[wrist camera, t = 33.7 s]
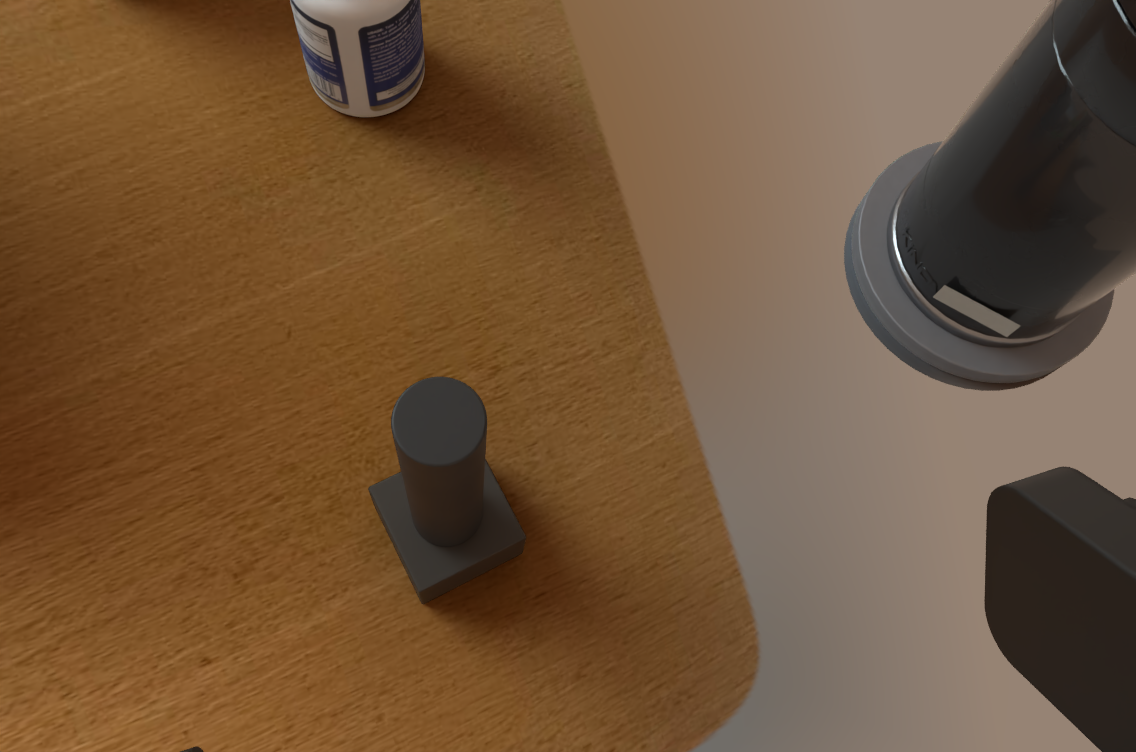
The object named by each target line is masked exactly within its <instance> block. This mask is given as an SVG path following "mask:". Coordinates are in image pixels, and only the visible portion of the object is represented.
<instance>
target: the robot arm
mask: <svg viewBox="0 0 1136 752" xmlns="http://www.w3.org/2000/svg"><path fill="white" fill-rule="evenodd" d="M887 248H888V254H889V258H890V262H891V265H892V268H893V271H894V273H895V276H896V278H897V280H898V282H899V284H900V285H901V287H902V289H903V290H904V292H905V293H906V295H907V296H908V297H909V299H910V300H911V301H912V302H913V303H914V305H915V306H916V307H917V308H918V309H919V310H920V311H921V312H922V313H923V314H924V315H925V316H926V317H928V318H929V319H930V320H931V321H933V322H934V323H935V324H937V325H938V326H940V327H941V328H943V329H944V330H946V331H948V332H950V333H951V334H953V335H955V336H958V337H960V338H962V339H965V340H967V341H970V342H973V343H977V344H981V345H985V346H991V347H1001V348H1015V347H1024V346H1028V345H1033V344H1036V343H1039V342H1042V341H1044V340H1046V339H1048V338H1050V337H1052V336H1054V335H1055V334H1057V333H1059V332H1060V331H1061V330H1063V329H1064V328H1065V327H1067V326H1068V325H1069V324H1071V323H1072V322H1073V321H1074V320H1075V319H1076V318H1077V317H1078V316H1079V315H1080V314H1081V313H1082V312H1083V311H1084V310H1086V309H1087V308H1088V307H1090V306H1091V305H1093V304H1094V303H1095V302H1097V301H1098V300H1099V299H1101V298H1102V297H1103V296H1105V295H1107V294H1108V293H1109V292H1111V291H1112V290H1113V289H1115V288H1116V287H1117V286H1119V285H1120V284H1121V283H1123V282H1124V281H1125V280H1127V279H1128V278H1130V277H1131V276H1132V275H1134V274H1135V273H1136V0H1050V1H1049V2H1048V4H1047V5H1046V6H1045V8H1044V9H1043V10H1042V12H1041V13H1040V14H1039V15H1038V17H1037V18H1036V19H1035V21H1034V22H1033V23H1032V25H1031V26H1030V28H1029V29H1028V30H1027V31H1026V33H1025V34H1024V35H1023V37H1022V38H1021V39H1020V41H1019V42H1018V43H1017V45H1016V46H1015V47H1014V49H1013V50H1012V51H1011V52H1010V54H1009V55H1008V56H1007V58H1006V59H1005V60H1004V62H1003V63H1002V64H1001V66H1000V67H999V68H998V70H997V71H996V72H995V74H994V75H993V76H992V78H991V79H990V80H989V81H988V83H987V84H986V86H985V87H984V88H983V89H982V91H981V92H980V93H979V95H978V96H977V97H976V99H975V100H974V101H973V103H972V104H971V105H970V106H969V108H968V109H967V110H966V112H965V113H964V114H963V116H962V117H961V118H960V120H959V121H958V122H957V124H956V125H955V126H954V128H953V129H952V130H951V132H950V133H949V134H948V136H947V137H946V138H945V139H944V141H943V142H942V143H941V145H940V146H939V147H938V148H937V150H936V151H935V152H934V154H933V155H932V156H931V158H930V159H929V160H928V162H927V163H926V164H925V166H924V167H923V168H922V170H921V171H920V172H919V173H918V174H916V175H915V176H914V177H913V178H912V179H911V181H910V182H909V183H908V184H907V186H906V187H905V188H904V190H903V191H902V192H901V194H900V195H899V196H898V198H897V200H896V202H895V203H894V205H893V208H892V210H891V213H890V217H889V220H888V227H887ZM985 612H986V617H987V621H988V624H989V628H990V630H991V633H992V635H993V637H994V639H995V641H996V643H997V645H998V647H999V649H1000V650H1001V651H1002V653H1003V655H1004V656H1005V657H1006V658H1007V660H1008V661H1009V662H1010V663H1011V664H1012V665H1013V667H1014V668H1016V669H1017V670H1018V671H1019V672H1020V673H1021V674H1022V675H1023V676H1024V677H1025V678H1026V679H1027V680H1028V681H1029V682H1030V683H1031V684H1032V685H1033V686H1034V687H1035V688H1036V689H1038V691H1039V692H1041V694H1043V695H1044V696H1045V697H1046V698H1047V699H1048V700H1049V701H1050V702H1051V703H1052V704H1053V705H1054V706H1055V707H1056V708H1057V709H1058V710H1059V711H1060V712H1061V713H1062V714H1063V715H1064V716H1065V717H1066V718H1067V719H1069V720H1070V721H1071V722H1072V723H1073V724H1074V725H1075V726H1076V727H1077V728H1078V729H1079V730H1080V731H1081V732H1082V733H1083V734H1084V735H1085V736H1086V737H1087V738H1088V739H1089V740H1090V741H1091V742H1092V743H1093V744H1094V745H1095V746H1097V747H1098V748H1099V749H1100V750H1101V751H1102V752H1136V499H1133V498H1127V499H1124V500H1123V499H1121V498H1120V497H1118V496H1116V495H1115V494H1113V493H1112V492H1110V491H1108V490H1107V489H1106V488H1104V487H1103V486H1101V485H1100V484H1098V483H1097V482H1095V481H1094V480H1092V479H1091V478H1089V477H1087V476H1086V475H1084V474H1083V473H1081V472H1080V471H1078V470H1076V469H1073V468H1070V467H1059V468H1055V469H1052V470H1049V471H1046V472H1043V473H1040V474H1037V475H1034V476H1031V477H1028V478H1025V479H1022V480H1019V481H1015V482H1012V483H1009V484H1006V485H1003V486H1000V487H998V488H996V489H995V490H994V491H993V492H992V493H991V495H990V497H989V500H988V504H987V530H986V570H985ZM181 752H203V750H202V749H201V748H199V747H193V748H190V749H187V750H184V751H181Z"/></svg>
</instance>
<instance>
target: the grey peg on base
mask: <svg viewBox="0 0 1136 752" xmlns="http://www.w3.org/2000/svg"><path fill="white" fill-rule="evenodd" d="M391 428H392V433H393V438H394V442H395V446H396V451H397V455H398V459H399V464H400V468H401V472H399V473H397V474H395V475H393V476H391V477H389V478H387V479H385V480H383V481H381V482H378V483H376V484H374V485H372V486H370V487H369V488H368V489H369V492H370V495H371V498H372V500H373V503H374V506H375V508H376V510H377V512H378V514H379V516H380V519H381V521H382V523H383V525H384V527H385V529H386V531H387V533H388V535H389V537H390V539H391V541H392V543H393V545H394V548H395V550H396V552H397V554H398V556H399V558H400V560H401V562H402V564H403V566H404V568H405V570H406V572H407V574H408V576H409V579H410V581H411V583H412V585H413V587H414V589H415V591H416V593H417V595H418V597H419V599H420V601H421V603H422V604H425V603H427V602H429V601H431V600H433V599H435V598H437V597H438V596H440V595H442V594H444V593H446V592H448V591H450V590H452V589H454V588H456V587H458V586H460V585H462V584H464V583H466V582H468V581H469V580H471V579H473V578H475V577H477V576H479V575H481V574H483V573H485V572H487V571H489V570H491V569H493V568H495V567H497V566H499V565H501V564H502V563H504V562H506V561H508V560H510V559H512V558H514V557H516V556H518V555H520V554H522V552H523V548H524V544H525V541H526V535H525V533H524V532H523V530H522V528H521V526H520V524H519V522H518V520H517V518H516V516H515V514H514V512H513V511H512V509H511V507H510V505H509V503H508V501H507V499H506V497H505V495H504V493H503V492H502V490H501V488H500V486H499V484H498V482H497V480H496V478H495V476H494V474H493V472H492V471H491V469H490V467H489V465H488V463H487V461H486V459H485V453H486V434H487V415H486V410H485V407H484V405H483V402H482V400H481V399H480V397H479V396H478V395H477V393H476V392H475V391H474V390H473V389H472V388H471V387H469V386H468V385H466V384H465V383H463V382H461V381H459V380H456V379H453V378H448V377H431V378H427V379H423V380H421V381H418V382H417V383H415V384H413V385H412V386H410V387H409V388H407V389H406V390H405V391H404V392H403V393H402V395H401V396H400V397H399V399H398V400H397V402H396V404H395V406H394V409H393V412H392V418H391Z"/></svg>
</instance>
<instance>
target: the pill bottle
mask: <svg viewBox="0 0 1136 752" xmlns="http://www.w3.org/2000/svg"><path fill="white" fill-rule="evenodd" d="M290 3H291V7H292V11H293V15H294V19H295V23H296V27H297V31H298V35H299V40H300V44H301V48H302V52H303V56H304V60H305V65H306V68H307V72H308V76H309V79H310V82H311V84H312V86H313V88H314V90H315V92H316V93H317V94H318V96H319V97H320V98H321V99H322V100H323V101H324V102H325V103H326V104H327V105H329V106H330V107H331V108H333V109H335V110H337V111H339V112H341V113H344V114H347V115H351V116H356V117H376V116H381V115H385V114H389V113H391V112H394V111H396V110H398V109H400V108H402V107H403V106H405V105H406V104H407V103H408V102H409V101H411V100H412V98H413V97H414V96H415V95H416V94H417V92H418V90H419V88H420V87H421V84H422V81H423V78H424V72H425V58H424V46H423V33H422V20H421V7H420V0H290Z"/></svg>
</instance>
